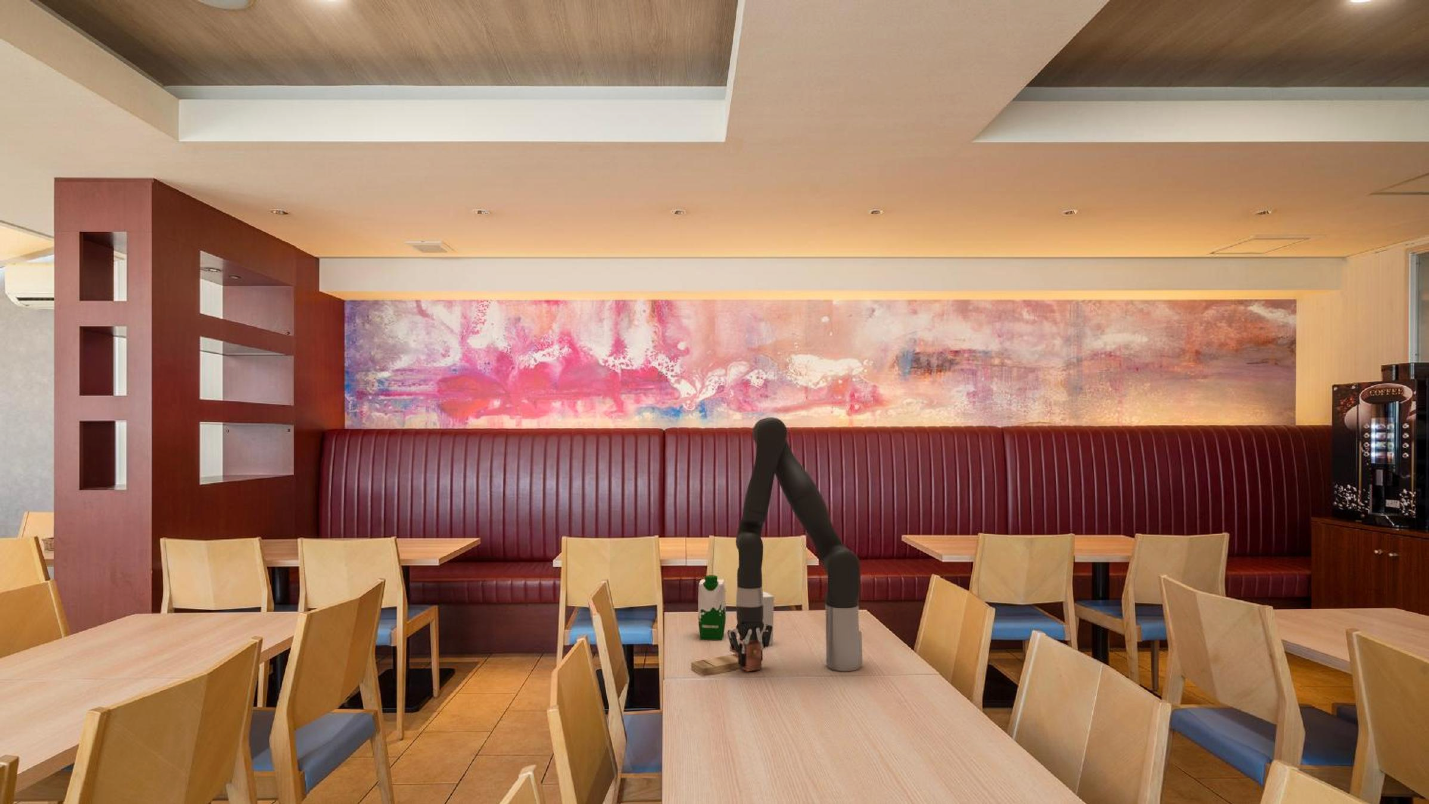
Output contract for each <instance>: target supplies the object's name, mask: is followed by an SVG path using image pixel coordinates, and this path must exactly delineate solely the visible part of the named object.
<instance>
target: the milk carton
mask: <svg viewBox="0 0 1429 804" xmlns="http://www.w3.org/2000/svg"><path fill="white" fill-rule="evenodd" d="M697 588H698V590H697V591H698V593H697V594H698V596H697V601H698V602H697V603H698V605H697V606H698V607H697V608H698V609H697V610H698V613H697V614H698V616H697V617H698V618H697V619H698V622H697V623H698V629H699V631H698V632H699V638H700V639H699V640H700V641H722V640H723V639H724V635H725V630H726V629H725V627H726V622H727V621H726V617H727V615H726V614H727V613H726V611H727V610H726V608H727V606H726V605H727V604H726V602H727V601H726V598H727V597H726V592H727V591H726V585H725V579H718V575H716V574H715V575H714V574H713V575H712V574H707V575H705V576H704V578H703V579H701V580H700V581H699V583H698V587H697Z"/></svg>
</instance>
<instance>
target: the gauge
mask: <svg viewBox="0 0 1429 804" xmlns="http://www.w3.org/2000/svg"><path fill="white" fill-rule="evenodd" d="M729 652H731V653H734V654H737V655H738V652H736V651H733V650H732V648H731V645H730V646H729ZM745 654H746V667H742V666H740V668H742V669H743V670H745V671H746V672H751V671H756V670H760V669H761V670H762V665H761V643H758V642H755V641H753V640H750V641H749V643H748V645H746V651H745ZM742 669H741V670H742Z"/></svg>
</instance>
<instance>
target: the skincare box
mask: <svg viewBox="0 0 1429 804" xmlns="http://www.w3.org/2000/svg"><path fill="white" fill-rule="evenodd" d="M774 606H775V596H774V595H772V594H770V593H769V592H767V591H764V590H763V623H764V624H768V625H771V626H772V632H771V637H770V641H769V646H770V647H771V646H773V645H774V614H775V612H774V611H775V610H774ZM760 634H761V638H762V634H763V630H762V632H761V633H760ZM769 646H768V647H769Z"/></svg>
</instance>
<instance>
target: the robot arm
mask: <svg viewBox="0 0 1429 804" xmlns="http://www.w3.org/2000/svg"><path fill="white" fill-rule="evenodd" d="M787 438H788V428H787V426H786V423H784V422H783V421H782V420H781V419H779V418H778V417H773V416H771V417H765V418H761V419H760V420H758V421H757V422H756V423H755V424H754V426H753V429H752V439H753V442H754V443H755V444H756V449H755V450H756V452H755V453H756V454H755V460H754V466H753V470H752V472H751V476H750V479H749V483H748V485H747V487H746V492H745V497H744V502H743V503H744V504H743V508H742V515H741V519H740V522H739V526H738V529H737V532H736V538H735V546H736V549H737V550H738V568H737V571H736V572H737V573H736V574H737V575H736V577H737V578H736V583H737V585H736V593H735V594H736V598H735V599H736V606H735V607H736V626H735V628H733V629H732V630H731V629H728V630H727V633H726V634H727V636H728V637H727V638H728V641H729V645H730V646H731V648H732V650H733V651H736V652H738V663H739V664H740V666H742V667H746V654H745V651H746V645H748V643H749V641H750V640H753V641H755V642H758V643H761V661H762V662H763V658H764V657H763V655H764V654H763V650H764V649H765V648H769V641H770V637H771V632H772V626H771V625H768V624H764V623H763V591H764V590H763V571H762V569H763V568H762V567H763V559H764V542H763V539H762V532H763V529H764V528H763V527H764V524H765V522H766V520H767V518H768V514H769V510H770V509H769V508H770V503H771V496H772V490H773V485H774V479H775V477H776V479H777V482H778V484H779V486H780V488H781V490H782V492H783V494H784V496H785V498H786V500H787V502H788V504H789V506H790V508H791V509H792V512H793V513H794V515H795V517H796V518H797V520H798V521H799V523H800V524H801V526H802V527H803V529H804V531H805V532H806V533H807V535H808V536H809V538H810V540H811V541H812V543H813V545H814V548H815V550H816V552H817V555H818V557H819V559H820V562H821V564H822V568H823V569H824V571H825V573H827V591H826V593H825V601H824V602H825V603H824V604H825V605H824V606H825V607H824V608H825V655H826V656H825V657H826V658H825V659H826V660H825V661H826V663H825V664H826V667H827V668H828V669H830V670H834V671H839V672H851V671H857V670H858V669H860V668H861V667H863V637H862V636H863V634H862V632H861V631H860V628H859V627H860V625H859V624H860V623H859V622H860V620H859V618H860V617H859V598H860V596H861V564H860V560H859V557H858V556H857V554H856V553H854V551H852V550H850V549H849V548H848V547H846V545H845V544H844V542H843V541H842V539H841V538H840V536H839V535H838V533H837V530H836V529H835V528H834V526H833V523H832V521H831V517H830V513H829V510H828V507H827V505H826V502H825V499H824V497H823V496H822V493H821V492H820V490H819V488H818V486H817V485H816V483H815V482H814V480H813V478H812V477H811V475H809V473H808V472H807V470H806V469H805V468H804V467H803V465H802V464H801V463H800V462H799V460H798V459H797V458H796V456H795V455H794V452H793V451H792V449H791V447H790V444H789V443H788V440H787ZM762 630H763V634H762V638H761V634H760V633H761V632H762ZM738 635H739V636H738Z"/></svg>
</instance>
